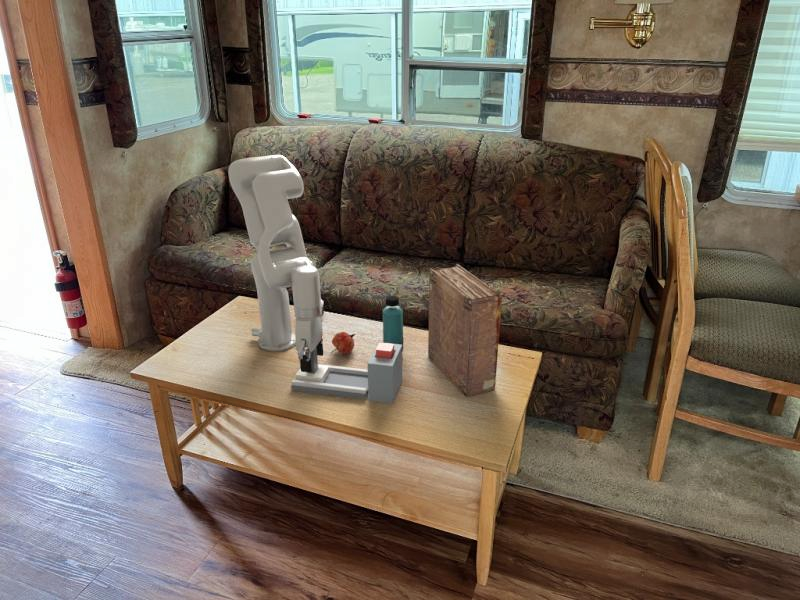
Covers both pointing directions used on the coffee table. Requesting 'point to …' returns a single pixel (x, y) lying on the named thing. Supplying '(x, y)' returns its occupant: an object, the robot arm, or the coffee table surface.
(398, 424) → the coffee table surface
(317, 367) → the carriage
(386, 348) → the button
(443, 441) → the coffee table surface
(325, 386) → the rail bed
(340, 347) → the pomegranate
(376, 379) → the button cabinet
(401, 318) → the beverage bottle
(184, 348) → the coffee table surface
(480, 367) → the book
